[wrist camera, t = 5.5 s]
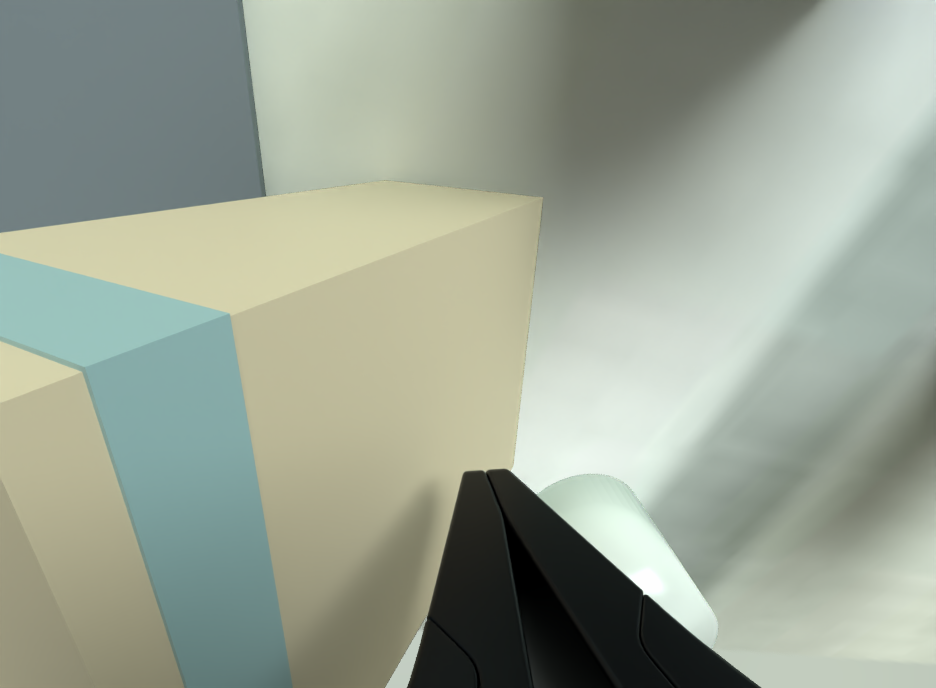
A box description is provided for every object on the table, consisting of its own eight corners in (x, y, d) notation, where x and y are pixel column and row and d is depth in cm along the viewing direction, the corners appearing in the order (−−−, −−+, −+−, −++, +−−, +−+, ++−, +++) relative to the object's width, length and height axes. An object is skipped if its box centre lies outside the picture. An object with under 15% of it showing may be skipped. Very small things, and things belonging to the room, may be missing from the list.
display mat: (234, -61, 12) (228, -68, 11) (298, 463, 18) (296, 472, 18) (-455, -136, 10) (-496, -149, 9) (-100, 487, 16) (-114, 497, 16)
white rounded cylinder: (650, 469, 22) (738, 585, 16) (625, 564, 24) (694, 692, 19) (520, 478, 21) (569, 604, 15) (509, 576, 23) (546, 715, 18)
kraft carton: (545, 195, 13) (-29, 407, 3) (514, 467, 17) (225, 972, 7) (383, 178, 15) (-315, 270, 5) (389, 426, 18) (12, 774, 8)
